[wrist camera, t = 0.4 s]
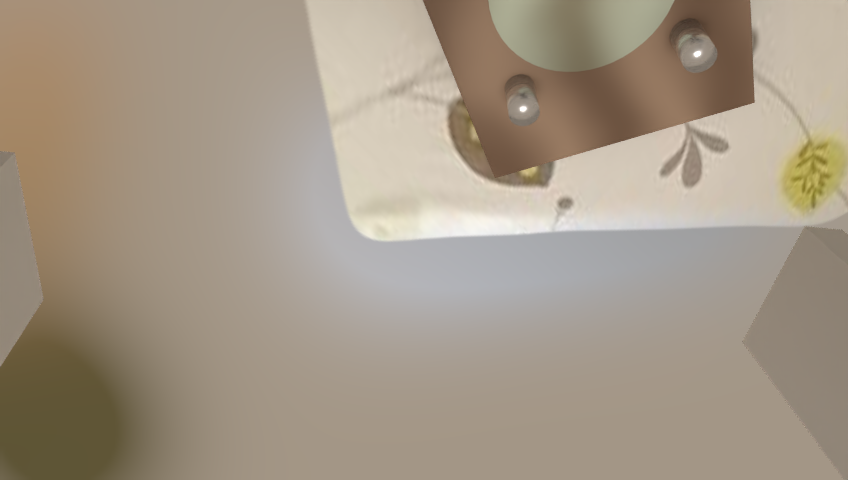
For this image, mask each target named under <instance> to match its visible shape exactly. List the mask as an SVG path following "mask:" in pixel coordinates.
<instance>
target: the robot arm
mask: <svg viewBox="0 0 848 480" xmlns="http://www.w3.org/2000/svg"><path fill="white" fill-rule="evenodd" d="M42 301H43V294H42V289H41V284H40V279H39V274H38V269H37V263H36V259H35V253H34V249H33V244H32V238H31V233H30V228H29V223H28V218H27V213H26V208H25V203H24V197H23V192H22V187H21V183H20V177H19V172H18V167H17V162H16V156H15V153H12V152H1V151H0V366H1V365H2V363H3V362H4V360H5V358H6V357H7V355H8V354H9V352H10V351H11V349H12V348H13V346H14V344H15V343H16V341H17V340H18V338H19V337H20V335H21V334H22V332H23V330H24V329H25V327H26V326H27V324H28V323H29V321H30V319H31V318H32V316H33V315H34V313H35V312H36V310H37V309H38V307H39V306H40V304H41V302H42ZM742 342H743V344H744V345H745V346H746V348H747V349H748V351H749V352H750V353H751V354H752V356H753V357H754V359H755V360H756V361H757V363H758V364H759V365H760V367H761V368H762V369H763V371H764V372H765V373H766V375H767V376H768V378H769V379H770V380H771V382H772V383H773V384H774V386H775V387H776V388H777V390H778V391H779V392H780V394H781V395H782V396H783V398H784V399H785V401H786V402H787V403H788V405H789V406H790V407H791V409H792V410H793V411H794V413H795V414H796V415H797V417H798V418H799V420H800V421H801V422H802V424H803V425H804V426H805V428H806V429H807V430H808V432H809V433H810V434H811V436H812V437H813V438H814V440H815V441H816V443H817V444H818V445H819V447H820V448H821V449H822V451H823V452H824V453H825V455H826V456H827V457H828V459H829V460H830V461H831V463H832V464H833V466H834V467H835V468H836V470H837V471H838V472H839V474H840V475H841V476H842V478H843V479H844V480H848V234H847V233H845V232H844V231H843V230H838V229H828V228H817V227H807V226H805V227H804V229H803V230H802V233H801V234H800V236H799V238H798V240H797V242H796V243H795V245H794V247H793V249H792V251H791V253H790V254H789V257H788V258H787V260H786V262H785V264H784V266H783V267H782V269H781V271H780V273H779V275H778V277H777V278H776V280H775V282H774V284H773V286H772V288H771V290H770V291H769V293H768V295H767V297H766V299H765V301H764V302H763V304H762V306H761V308H760V310H759V312H758V314H757V315H756V317H755V319H754V321H753V323H752V325H751V327H750V328H749V330H748V332H747V334H746V336H745V337H744V339H743V341H742Z"/></svg>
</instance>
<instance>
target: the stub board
mask: <svg viewBox="0 0 848 480" xmlns="http://www.w3.org/2000/svg"><path fill="white" fill-rule="evenodd" d="M423 1H424V4H425V6H426V9H427V11H428V14H429V16H430V19H431V21H432V24H433V26H434V29H435V31H436V34H437V36H438V39H439V41H440V43H441V46H442V48H443V51H444V53H445V56H446V58H447V61H448V63H449V66H450V68H451V71H452V73H453V76H454V78H455V80H456V83H457V85H458V88H459V90H460V93H461V95H462V98H463V100H464V103H465V105H466V108H467V110H468V113H469V115H470V118H471V120H472V122H473V125H474V127H475V130H476V132H477V135H478V137H479V140H480V142H481V145H482V147H483V150H484V152H485V155H486V157H487V159H488V162H489V164H490V167H491V169H492V172H493V174H494V177H495V178H497V177H500V176H504V175H507V174H510V173H514V172H517V171H521V170H524V169H528V168H531V167H535V166H538V165H541V164H545V163H548V162H552V161H555V160H559V159H562V158H566V157H569V156H572V155H576V154H579V153H583V152H586V151H590V150H593V149H596V148H600V147H603V146H607V145H610V144H614V143H617V142H621V141H624V140H627V139H631V138H634V137H638V136H641V135H645V134H648V133H652V132H655V131H658V130H662V129H665V128H669V127H672V126H676V125H679V124H683V123H686V122H689V121H693V120H696V119H700V118H703V117H707V116H710V115H714V114H717V113H720V112H724V111H727V110H731V109H734V108H738V107H741V106H744V105H748V104H751V103H754V79H753V55H752V32H751V8H750V0H423Z"/></svg>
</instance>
